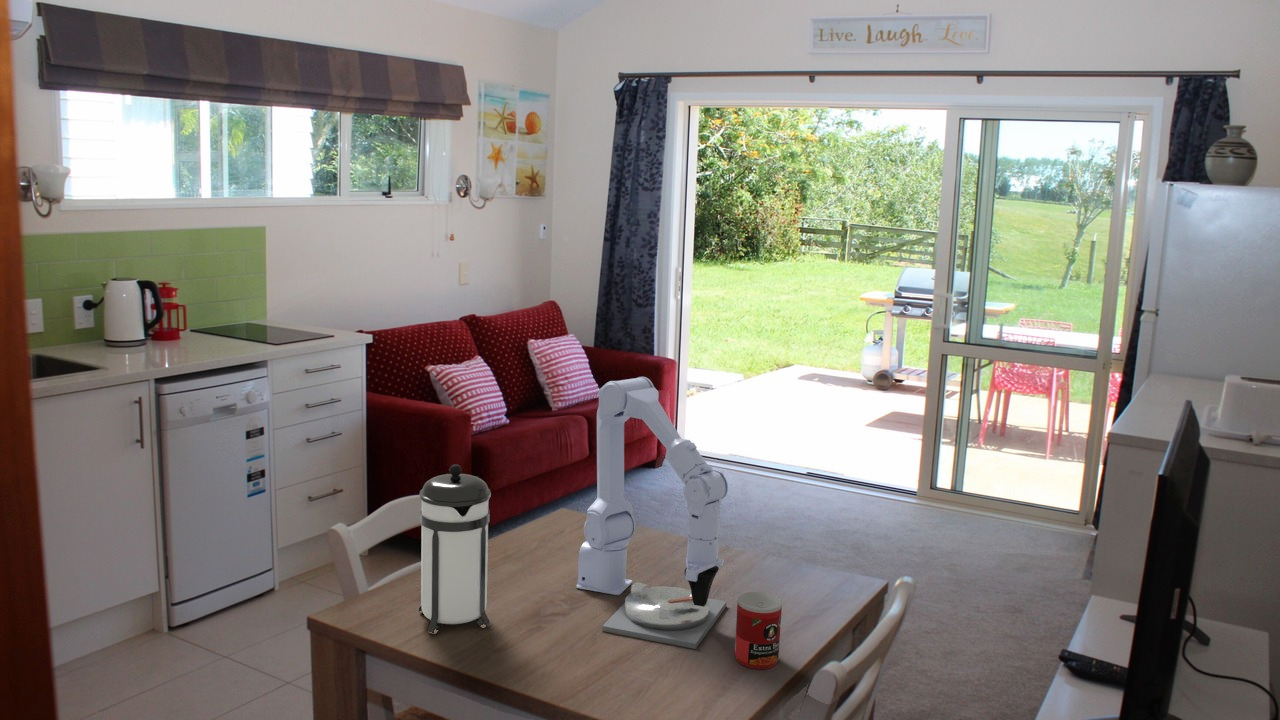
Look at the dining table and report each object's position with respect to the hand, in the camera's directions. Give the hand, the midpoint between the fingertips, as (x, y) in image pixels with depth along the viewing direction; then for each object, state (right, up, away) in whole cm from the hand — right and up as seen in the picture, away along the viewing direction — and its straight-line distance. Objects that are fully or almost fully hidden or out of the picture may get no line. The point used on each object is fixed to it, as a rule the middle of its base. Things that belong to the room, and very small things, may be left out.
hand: (699, 604), depth 194 cm
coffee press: (-47, -2, -1) cm, 47 cm away
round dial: (-6, -2, +3) cm, 7 cm away
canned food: (+9, -7, -13) cm, 17 cm away
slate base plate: (-6, -3, +3) cm, 8 cm away
